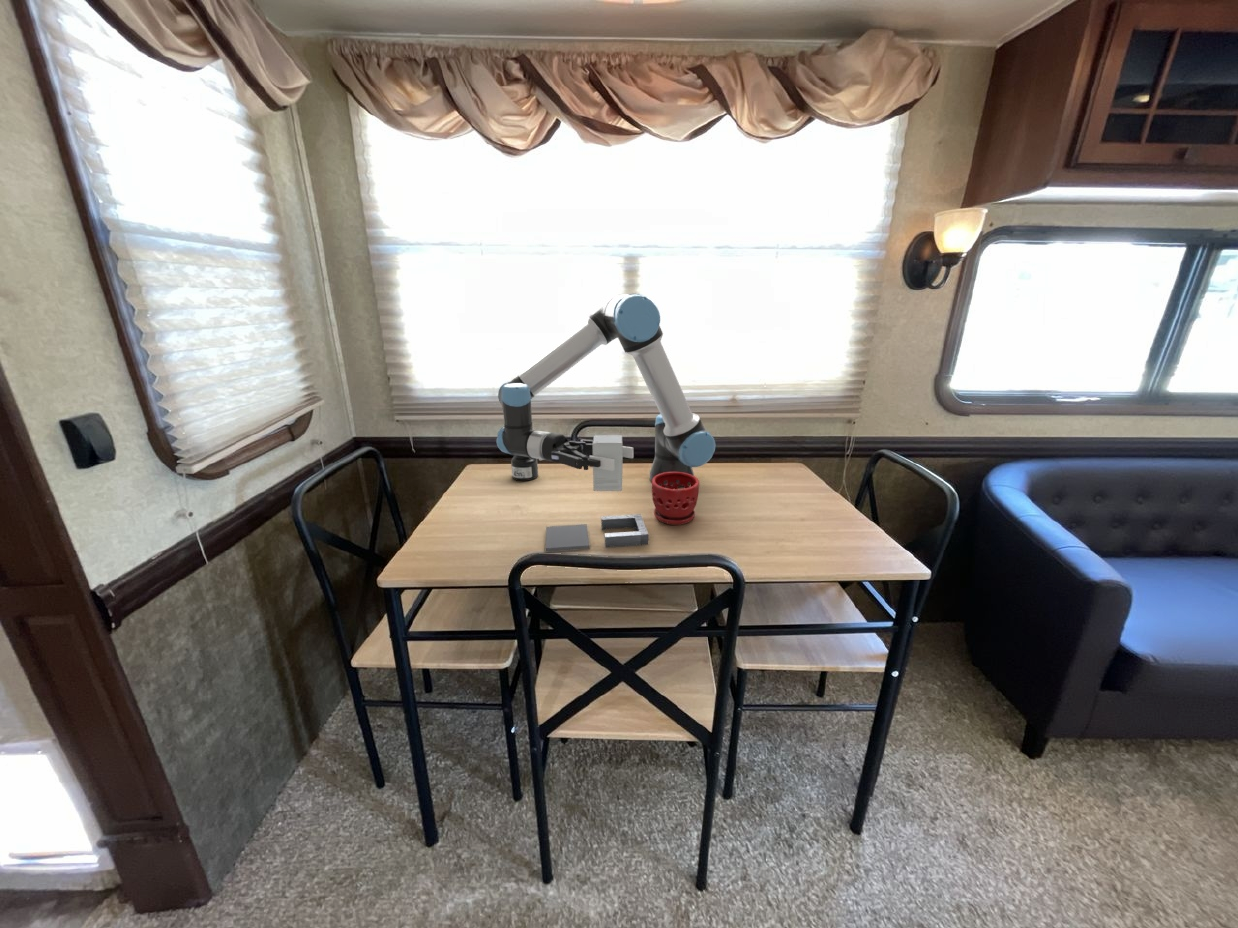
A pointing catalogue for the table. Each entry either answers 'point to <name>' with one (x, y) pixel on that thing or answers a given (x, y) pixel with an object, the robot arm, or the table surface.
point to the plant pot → (675, 497)
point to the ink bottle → (524, 468)
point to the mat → (567, 538)
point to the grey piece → (624, 537)
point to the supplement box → (614, 450)
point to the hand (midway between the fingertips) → (623, 458)
